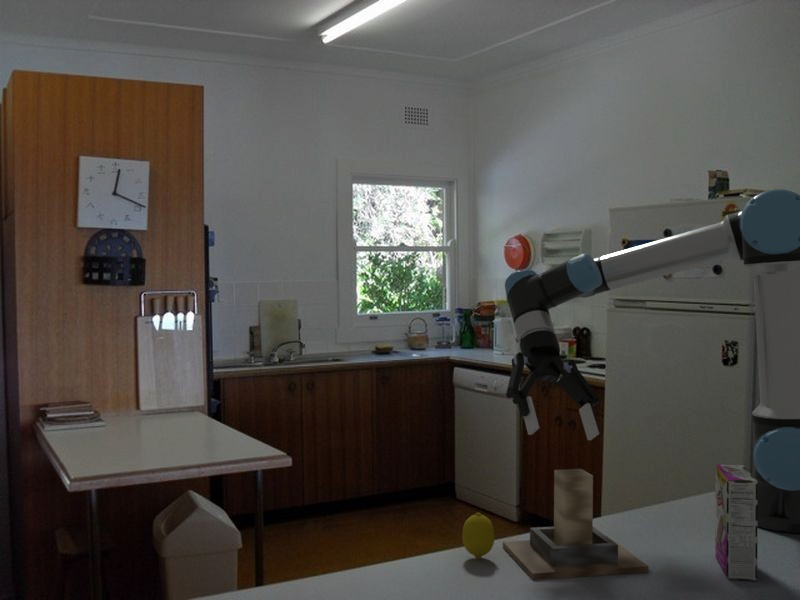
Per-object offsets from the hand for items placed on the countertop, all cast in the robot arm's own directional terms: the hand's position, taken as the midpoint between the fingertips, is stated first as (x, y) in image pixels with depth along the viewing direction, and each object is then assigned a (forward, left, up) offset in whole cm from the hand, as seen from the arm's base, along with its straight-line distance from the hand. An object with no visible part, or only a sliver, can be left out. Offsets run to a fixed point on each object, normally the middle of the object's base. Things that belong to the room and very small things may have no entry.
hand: (564, 434), depth 151 cm
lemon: (+19, +8, -20) cm, 28 cm away
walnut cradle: (+3, +10, -20) cm, 22 cm away
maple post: (+2, +10, -19) cm, 21 cm away
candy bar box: (-22, +20, -20) cm, 36 cm away
